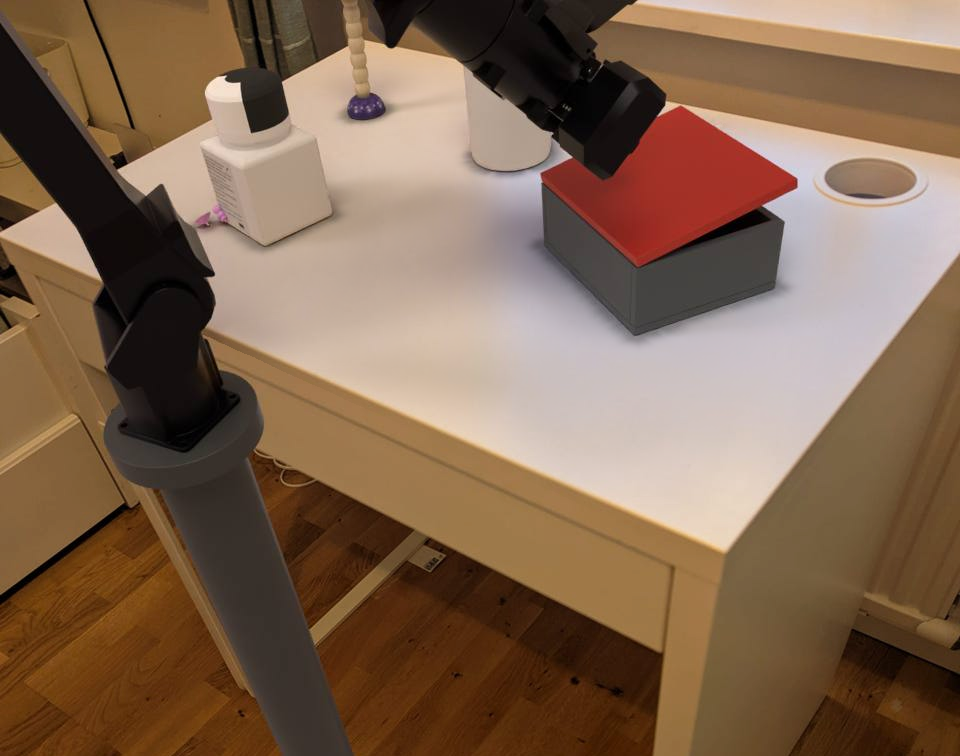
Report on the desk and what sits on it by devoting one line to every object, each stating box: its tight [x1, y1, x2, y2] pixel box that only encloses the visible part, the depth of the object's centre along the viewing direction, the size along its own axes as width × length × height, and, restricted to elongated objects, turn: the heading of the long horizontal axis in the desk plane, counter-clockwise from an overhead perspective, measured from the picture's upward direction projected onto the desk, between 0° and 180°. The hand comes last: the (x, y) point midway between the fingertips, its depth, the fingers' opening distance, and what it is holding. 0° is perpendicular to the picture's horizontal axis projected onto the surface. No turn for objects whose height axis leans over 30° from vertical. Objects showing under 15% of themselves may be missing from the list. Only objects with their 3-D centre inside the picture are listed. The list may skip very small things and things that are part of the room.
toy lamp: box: [340, 0, 386, 121], centre depth 98 cm, size 5×5×17 cm
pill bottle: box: [462, 65, 552, 172], centre depth 88 cm, size 8×8×15 cm
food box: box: [540, 181, 786, 336], centre depth 74 cm, size 12×15×6 cm
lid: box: [539, 105, 799, 267], centre depth 71 cm, size 13×15×1 cm
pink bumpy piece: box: [194, 204, 227, 227], centre depth 87 cm, size 3×2×2 cm
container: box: [199, 66, 333, 247], centre depth 83 cm, size 8×8×13 cm
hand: (633, 146), depth 68 cm, fingers closed
